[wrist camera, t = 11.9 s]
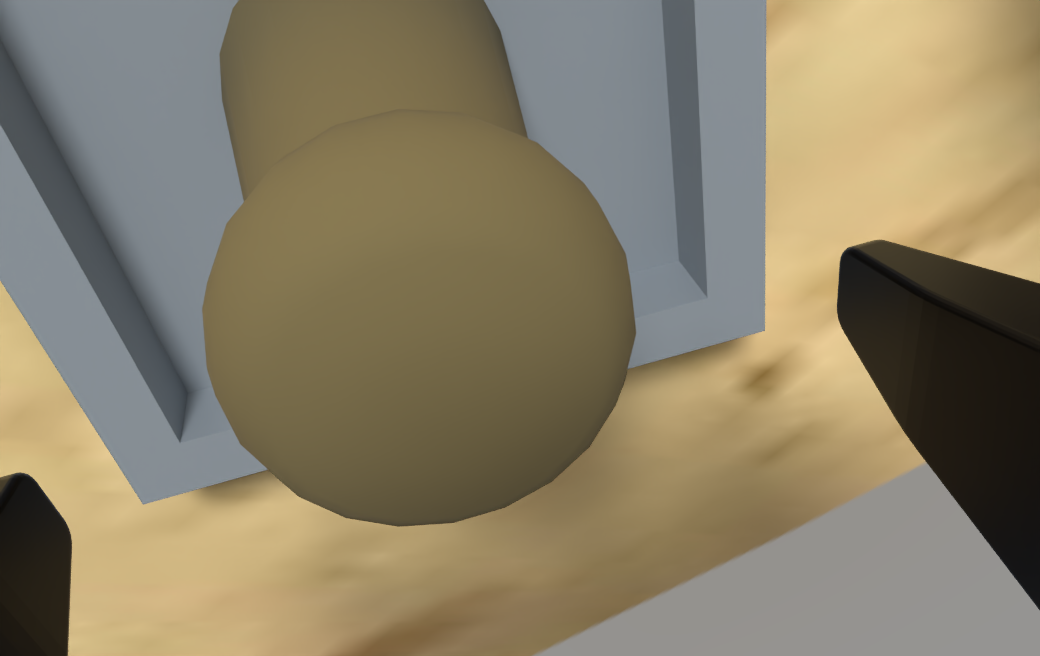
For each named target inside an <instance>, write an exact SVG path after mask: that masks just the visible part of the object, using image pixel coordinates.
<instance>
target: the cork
mask: <svg viewBox="0 0 1040 656" xmlns="http://www.w3.org/2000/svg"><path fill="white" fill-rule="evenodd" d="M219 56H220V74H221V92H222V103H223V107H224V112H225V116H226V121H227V126H228V130H229V135H230V140H231V144H232V149H233V154H234V158H235V163H236V167H237V172H238V177H239V181H240V186H241V191H242V195H243V200H244V202H243V204H242V205H241V206H240V207H239V209H238V210H237V211H236V212H235V214H234V215H233V216H232V217H231V219H230V220H229V221H228V222H227V223H226V226H225V229H224V232H223V236H222V239H221V242H220V245H219V248H218V251H217V254H216V257H215V260H214V263H213V266H212V269H211V272H210V275H209V278H208V281H207V286H206V291H205V297H204V302H203V307H202V314H203V327H204V340H205V352H206V365H207V371H208V374H209V377H210V380H211V384H212V387H213V390H214V393H215V396H216V398H217V400H218V402H219V404H220V406H221V408H222V410H223V412H224V414H225V415H226V417H227V419H228V421H229V423H230V425H231V427H232V429H233V431H234V433H235V435H236V437H237V439H238V441H239V443H240V445H241V446H243V447H244V448H245V449H246V450H247V451H248V452H249V453H250V454H251V455H253V456H254V457H255V458H256V459H257V460H258V461H259V462H260V463H261V464H262V465H264V466H265V467H266V468H267V469H268V470H269V471H270V472H271V473H272V474H274V475H275V476H276V477H277V478H278V479H279V480H280V481H281V482H282V483H284V484H285V485H286V486H287V487H288V488H289V489H291V490H292V491H293V492H294V493H295V494H296V495H297V496H299V497H301V498H303V499H305V500H308V501H310V502H312V503H314V504H316V505H319V506H321V507H323V508H325V509H327V510H330V511H332V512H334V513H336V514H339V515H341V516H343V517H345V518H350V519H356V520H362V521H368V522H374V523H380V524H386V525H393V526H414V525H428V524H443V523H454V522H457V521H461V520H464V519H468V518H471V517H474V516H478V515H481V514H485V513H488V512H491V511H495V510H498V509H501V508H505V507H507V506H509V505H510V504H512V503H514V502H516V501H518V500H519V499H521V498H523V497H525V496H527V495H528V494H530V493H532V492H534V491H536V490H537V489H539V488H541V487H543V486H545V485H546V484H548V483H550V482H552V481H553V480H554V479H555V478H556V477H557V476H558V475H559V474H560V473H562V472H563V471H564V470H565V469H566V468H567V467H568V466H569V465H570V464H571V463H572V462H574V461H575V460H576V459H577V458H578V457H579V456H580V455H581V454H582V453H583V452H584V451H586V450H587V449H588V448H589V447H590V445H591V444H592V442H593V440H594V439H595V437H596V436H597V434H598V432H599V431H600V429H601V428H602V426H603V424H604V423H605V421H606V420H607V418H608V416H609V415H610V413H611V412H612V410H613V408H614V407H615V405H616V403H617V400H618V397H619V395H620V392H621V390H622V387H623V385H624V381H625V377H626V373H627V369H628V365H629V361H630V357H631V353H632V349H633V345H634V341H635V337H636V325H635V316H634V308H633V299H632V290H631V282H630V275H629V270H628V264H627V258H626V253H625V251H624V249H623V248H622V246H621V244H620V242H619V240H618V238H617V236H616V235H615V233H614V231H613V229H612V227H611V225H610V223H609V221H608V220H607V218H606V216H605V214H604V212H603V210H602V208H601V207H600V205H599V203H598V202H597V200H596V199H595V197H594V196H593V195H592V193H591V192H590V191H589V189H588V188H587V186H586V185H585V184H584V182H582V181H581V180H580V179H579V178H578V177H577V176H575V175H574V174H573V173H572V172H571V171H570V170H569V169H567V168H566V167H565V166H564V165H563V164H562V163H560V162H559V161H558V160H557V159H556V158H555V157H553V156H552V155H551V154H550V153H549V152H548V151H546V150H545V149H544V148H543V147H542V146H541V145H540V144H538V143H537V142H535V141H532V140H530V139H528V136H527V132H526V128H525V124H524V120H523V116H522V112H521V109H520V105H519V101H518V97H517V93H516V89H515V85H514V81H513V77H512V74H511V70H510V66H509V62H508V58H507V54H506V50H505V46H504V43H503V39H502V35H501V31H500V29H499V27H498V25H497V23H496V22H495V20H494V18H493V16H492V14H491V12H490V11H489V9H488V7H487V5H486V3H485V1H484V0H239V1H238V2H237V3H236V5H235V6H234V7H233V9H232V12H231V16H230V19H229V23H228V26H227V30H226V33H225V36H224V40H223V43H222V47H221V50H220V53H219Z"/></svg>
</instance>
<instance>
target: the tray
mask: <svg viewBox="0 0 1040 656" xmlns="http://www.w3.org/2000/svg"><path fill="white" fill-rule="evenodd" d="M238 1H239V0H0V281H1V282H2V284H3V285H4V287H5V289H6V290H7V292H8V293H9V295H10V296H11V298H12V299H13V301H14V303H15V304H16V306H17V307H18V309H19V310H20V312H21V314H22V315H23V317H24V318H25V320H26V321H27V323H28V325H29V326H30V328H31V329H32V331H33V332H34V334H35V336H36V337H37V339H38V340H39V342H40V343H41V345H42V347H43V348H44V350H45V351H46V353H47V354H48V356H49V358H50V359H51V361H52V362H53V364H54V365H55V367H56V369H57V370H58V372H59V373H60V375H61V376H62V378H63V380H64V381H65V383H66V384H67V386H68V387H69V389H70V391H71V392H72V394H73V395H74V397H75V398H76V400H77V402H78V403H79V405H80V406H81V408H82V409H83V411H84V413H85V414H86V416H87V417H88V419H89V420H90V422H91V424H92V425H93V427H94V428H95V430H96V431H97V433H98V435H99V436H100V438H101V439H102V441H103V442H104V444H105V445H106V447H107V449H108V450H109V452H110V453H111V455H112V456H113V458H114V460H115V461H116V463H117V464H118V466H119V467H120V469H121V471H122V472H123V474H124V475H125V477H126V478H127V480H128V482H129V483H130V485H131V486H132V488H133V489H134V491H135V493H136V494H137V496H138V497H139V499H140V500H141V502H142V504H146V503H150V502H154V501H157V500H161V499H164V498H168V497H172V496H175V495H179V494H182V493H186V492H189V491H193V490H197V489H200V488H204V487H207V486H211V485H214V484H218V483H222V482H225V481H229V480H232V479H236V478H240V477H243V476H247V475H250V474H254V473H257V472H261V471H265V470H268V469H267V468H266V467H265V466H264V465H262V464H261V463H260V462H259V461H258V460H257V459H256V458H255V457H254V456H253V455H251V454H250V453H249V452H248V451H247V450H246V449H245V448H244V447H243V446H241V445H240V443H239V441H238V439H237V437H236V435H235V433H234V431H233V429H232V427H231V425H230V423H229V421H228V419H227V417H226V415H225V414H224V412H223V410H222V408H221V406H220V404H219V402H218V400H217V398H216V396H215V393H214V390H213V387H212V384H211V380H210V377H209V374H208V371H207V365H206V352H205V340H204V327H203V314H202V307H203V302H204V297H205V291H206V286H207V281H208V278H209V275H210V272H211V269H212V266H213V263H214V260H215V257H216V254H217V251H218V248H219V245H220V242H221V239H222V236H223V232H224V229H225V226H226V223H227V222H228V221H229V220H230V219H231V217H232V216H233V215H234V214H235V212H236V211H237V210H238V209H239V207H240V206H241V205H242V204H243V202H244V200H243V195H242V191H241V186H240V181H239V177H238V172H237V167H236V163H235V158H234V154H233V149H232V144H231V140H230V135H229V130H228V126H227V121H226V116H225V112H224V107H223V103H222V92H221V74H220V56H219V53H220V50H221V47H222V43H223V40H224V36H225V33H226V30H227V26H228V23H229V19H230V16H231V12H232V9H233V7H234V6H235V5H236V3H237V2H238ZM484 1H485V3H486V5H487V7H488V9H489V11H490V12H491V14H492V16H493V18H494V20H495V22H496V23H497V25H498V27H499V29H500V31H501V35H502V39H503V43H504V46H505V50H506V54H507V58H508V62H509V66H510V70H511V74H512V77H513V81H514V85H515V89H516V93H517V97H518V101H519V105H520V109H521V112H522V116H523V120H524V124H525V128H526V132H527V136H528V139H530V140H532V141H535V142H537V143H538V144H540V145H541V146H542V147H543V148H544V149H545V150H546V151H548V152H549V153H550V154H551V155H552V156H553V157H555V158H556V159H557V160H558V161H559V162H560V163H562V164H563V165H564V166H565V167H566V168H567V169H569V170H570V171H571V172H572V173H573V174H574V175H575V176H577V177H578V178H579V179H580V180H581V181H582V182H584V184H585V185H586V186H587V188H588V189H589V191H590V192H591V193H592V195H593V196H594V197H595V199H596V200H597V202H598V203H599V205H600V207H601V208H602V210H603V212H604V214H605V216H606V218H607V220H608V221H609V223H610V225H611V227H612V229H613V231H614V233H615V235H616V236H617V238H618V240H619V242H620V244H621V246H622V248H623V249H624V251H625V253H626V258H627V264H628V270H629V275H630V282H631V290H632V299H633V308H634V316H635V325H636V337H635V341H634V345H633V349H632V353H631V357H630V361H629V365H628V369H629V368H633V367H637V366H640V365H644V364H647V363H651V362H655V361H658V360H662V359H665V358H669V357H672V356H676V355H680V354H683V353H687V352H690V351H694V350H697V349H701V348H705V347H708V346H712V345H715V344H719V343H723V342H726V341H730V340H733V339H737V338H740V337H744V336H748V335H751V334H755V333H758V332H762V331H765V170H766V0H484Z"/></svg>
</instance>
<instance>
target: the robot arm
mask: <svg viewBox="0 0 1040 656" xmlns="http://www.w3.org/2000/svg"><path fill="white" fill-rule="evenodd" d="M837 314H838V319H839V322H840V325H841V327H842V329H843V331H844V333H845V335H846V336H847V338H848V340H849V341H850V343H851V345H852V346H853V348H854V350H855V351H856V353H857V355H858V356H859V358H860V360H861V361H862V363H863V365H864V366H865V368H866V370H867V372H868V373H869V375H870V377H871V378H872V380H873V382H874V383H875V385H876V387H877V388H878V390H879V392H880V393H881V395H882V397H883V398H884V400H885V402H886V403H887V405H888V407H889V409H890V410H891V412H892V414H893V415H894V417H895V418H896V420H897V422H898V423H899V425H900V426H901V428H902V429H903V431H904V432H905V434H906V435H907V437H908V438H909V439H910V441H911V442H912V443H913V445H914V446H915V448H916V449H917V450H918V452H919V453H920V454H921V456H922V457H923V458H924V459H925V461H926V462H927V463H928V465H929V466H930V467H931V468H932V470H933V471H934V472H935V474H936V475H937V476H938V478H939V479H940V480H941V482H942V483H943V484H944V486H945V487H946V488H947V490H948V491H949V492H950V493H951V495H952V496H953V497H954V499H955V500H956V501H957V503H958V504H959V505H960V507H961V508H962V509H963V510H964V512H965V513H966V514H967V516H968V517H969V518H970V520H971V521H972V522H973V524H974V525H975V526H976V527H977V529H978V530H979V531H980V533H981V534H982V535H983V537H984V538H985V539H986V541H987V542H988V543H989V544H990V546H991V547H992V548H993V550H994V551H995V552H996V554H997V555H998V556H999V557H1000V559H1001V560H1002V562H1003V563H1004V564H1005V565H1006V567H1007V568H1008V569H1009V571H1010V572H1011V573H1012V575H1013V576H1014V577H1015V579H1016V580H1017V581H1018V582H1019V584H1020V585H1021V586H1022V588H1023V589H1024V590H1025V592H1026V593H1027V594H1028V595H1029V597H1030V598H1031V599H1032V601H1033V602H1034V603H1035V605H1036V606H1037V607H1038V609H1039V610H1040V283H1036V282H1033V281H1029V280H1025V279H1022V278H1018V277H1015V276H1011V275H1007V274H1004V273H1000V272H997V271H993V270H989V269H986V268H982V267H979V266H975V265H971V264H968V263H964V262H961V261H957V260H953V259H950V258H946V257H943V256H939V255H935V254H932V253H928V252H925V251H921V250H917V249H914V248H910V247H907V246H903V245H900V244H896V243H892V242H889V241H885V240H874V241H870V242H866V243H863V244H859V245H855V246H852V247H849V248H847V249H846V250H845V251H844V252H843V254H842V256H841V260H840V269H839V284H838V299H837ZM71 558H72V540H71V534H70V531H69V528H68V526H67V524H66V522H65V520H64V519H63V517H62V516H61V515H60V513H59V512H58V511H57V509H56V508H55V507H54V505H53V504H52V502H51V501H50V500H49V498H48V497H47V496H46V494H45V493H44V492H43V490H42V489H41V487H40V486H39V485H38V483H37V482H36V481H35V480H34V479H33V478H32V477H31V476H29V475H28V474H25V473H15V474H11V475H7V476H4V477H0V656H68V637H69V611H70V584H71Z"/></svg>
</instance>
